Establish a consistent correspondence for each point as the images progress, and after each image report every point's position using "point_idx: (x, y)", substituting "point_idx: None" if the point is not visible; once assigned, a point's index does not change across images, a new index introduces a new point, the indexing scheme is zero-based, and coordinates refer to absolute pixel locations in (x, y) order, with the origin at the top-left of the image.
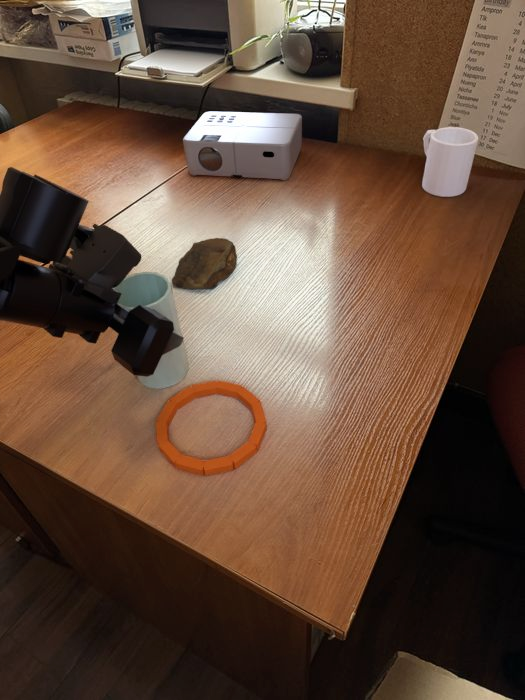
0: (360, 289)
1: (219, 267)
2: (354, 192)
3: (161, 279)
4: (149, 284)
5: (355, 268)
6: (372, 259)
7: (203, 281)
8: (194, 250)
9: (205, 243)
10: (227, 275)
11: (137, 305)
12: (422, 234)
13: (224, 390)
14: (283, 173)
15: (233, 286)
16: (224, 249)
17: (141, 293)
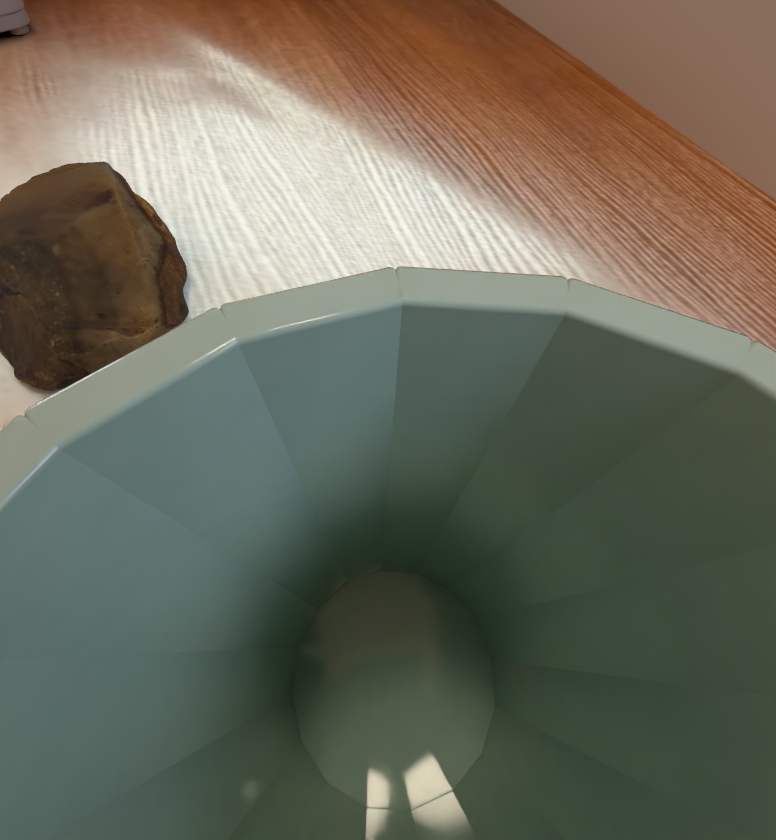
0: (461, 141)
1: (152, 246)
2: (202, 9)
3: (369, 345)
4: (197, 504)
5: (398, 114)
6: (398, 89)
7: (148, 313)
8: (3, 243)
9: (16, 206)
10: (183, 262)
11: (185, 713)
12: (401, 27)
13: None
14: (10, 6)
15: (227, 281)
16: (107, 189)
17: (157, 633)
